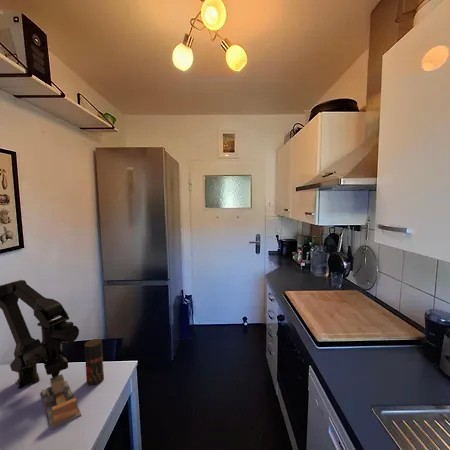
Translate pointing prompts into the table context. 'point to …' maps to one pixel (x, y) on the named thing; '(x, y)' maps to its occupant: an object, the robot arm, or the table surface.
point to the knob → (57, 387)
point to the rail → (61, 408)
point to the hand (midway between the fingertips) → (54, 379)
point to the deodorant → (94, 362)
